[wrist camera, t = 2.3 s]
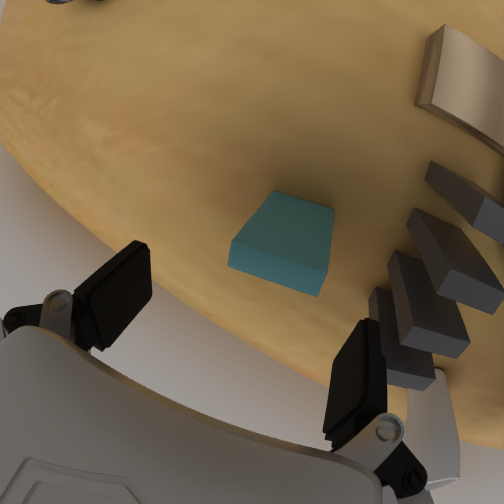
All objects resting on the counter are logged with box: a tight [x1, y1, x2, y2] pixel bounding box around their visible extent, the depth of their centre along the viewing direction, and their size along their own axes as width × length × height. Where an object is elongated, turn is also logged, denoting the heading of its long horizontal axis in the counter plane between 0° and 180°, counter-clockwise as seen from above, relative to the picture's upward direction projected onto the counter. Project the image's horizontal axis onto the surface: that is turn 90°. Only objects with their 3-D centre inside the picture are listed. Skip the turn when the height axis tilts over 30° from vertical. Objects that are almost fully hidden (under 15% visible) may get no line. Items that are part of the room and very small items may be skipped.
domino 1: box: [424, 161, 504, 245], centre depth 12 cm, size 2×5×9 cm, turn 79°
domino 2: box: [407, 208, 504, 315], centre depth 14 cm, size 2×5×9 cm, turn 80°
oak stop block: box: [415, 24, 504, 156], centre depth 10 cm, size 10×6×4 cm, turn 79°
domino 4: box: [368, 287, 436, 391], centre depth 19 cm, size 2×5×9 cm, turn 79°
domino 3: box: [387, 250, 471, 359], centre depth 16 cm, size 2×5×9 cm, turn 79°
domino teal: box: [228, 191, 334, 297], centre depth 17 cm, size 2×5×9 cm, turn 79°
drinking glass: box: [404, 368, 460, 491], centre depth 19 cm, size 7×7×15 cm
